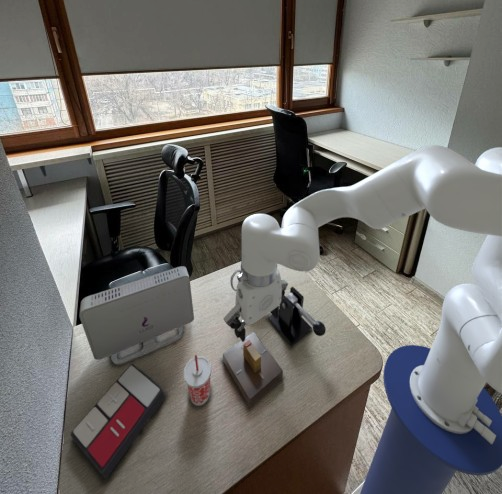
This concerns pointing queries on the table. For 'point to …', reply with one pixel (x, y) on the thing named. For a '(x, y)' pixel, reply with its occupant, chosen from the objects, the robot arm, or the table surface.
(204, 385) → the beverage cup
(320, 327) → the door lever
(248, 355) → the thumb turn
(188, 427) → the table surface
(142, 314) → the network device
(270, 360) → the lock plate
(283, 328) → the handle bracket
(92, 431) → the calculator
